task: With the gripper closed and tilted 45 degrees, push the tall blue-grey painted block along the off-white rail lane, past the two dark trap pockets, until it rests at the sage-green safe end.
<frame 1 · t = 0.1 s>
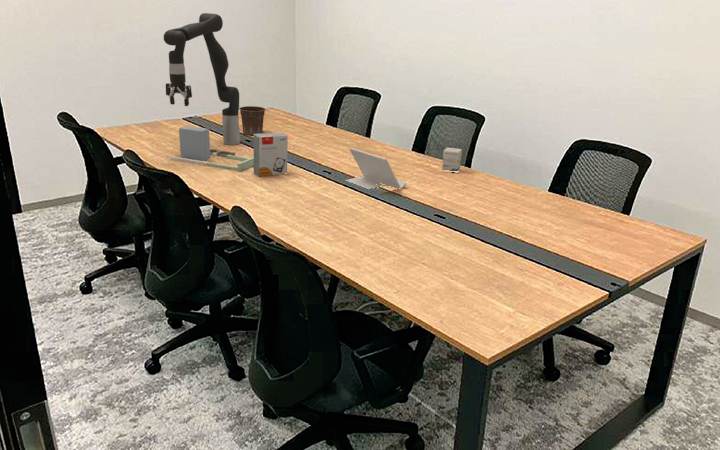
hand: (179, 105, 297), 29 cm above the table, tool pointing down, fingers open, 8 cm apart
ink box: (450, 171, 312), on the table
small box: (195, 150, 329), on the table
tablet stand: (375, 185, 283), on the table
plant pot: (253, 134, 373), on the table
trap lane: (214, 161, 310), on the table
hard drive box: (270, 173, 293), on the table
block: (195, 158, 314), on the table
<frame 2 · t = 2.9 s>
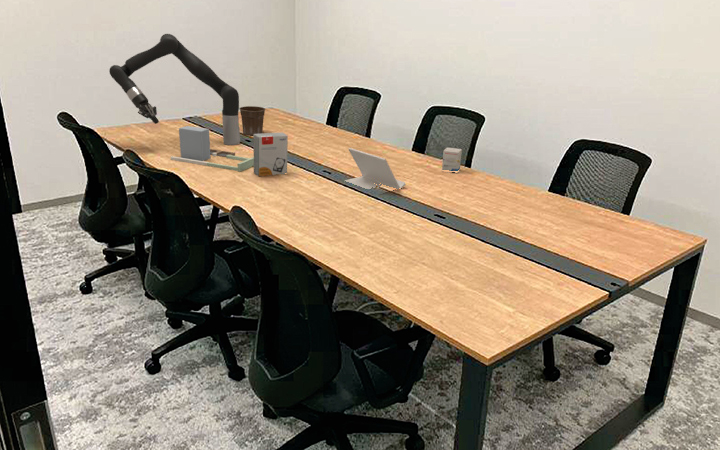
hand: (157, 122, 315), 16 cm above the table, tool tilted 45°, fingers closed
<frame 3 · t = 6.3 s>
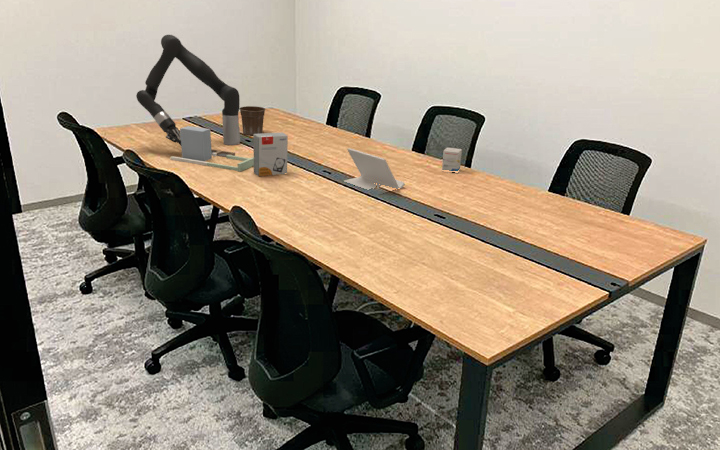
hand: (184, 146, 314), 5 cm above the table, tool tilted 45°, fingers closed
block: (197, 158, 314), on the table, touching gripper
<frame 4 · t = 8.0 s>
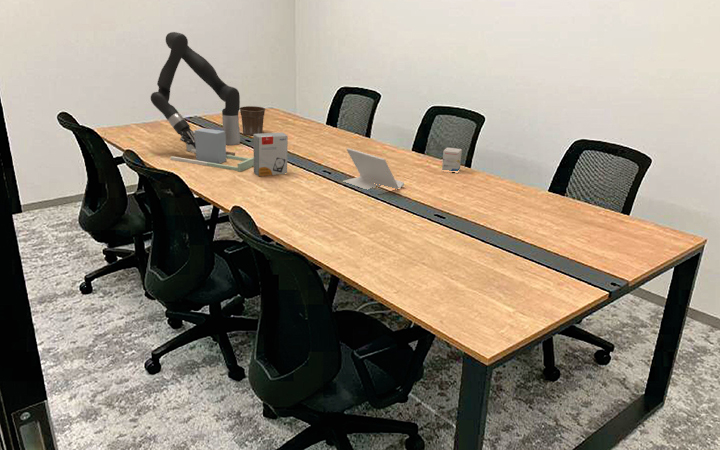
hand: (199, 149, 311), 5 cm above the table, tool tilted 45°, fingers closed
block: (211, 160, 310), on the table, touching gripper
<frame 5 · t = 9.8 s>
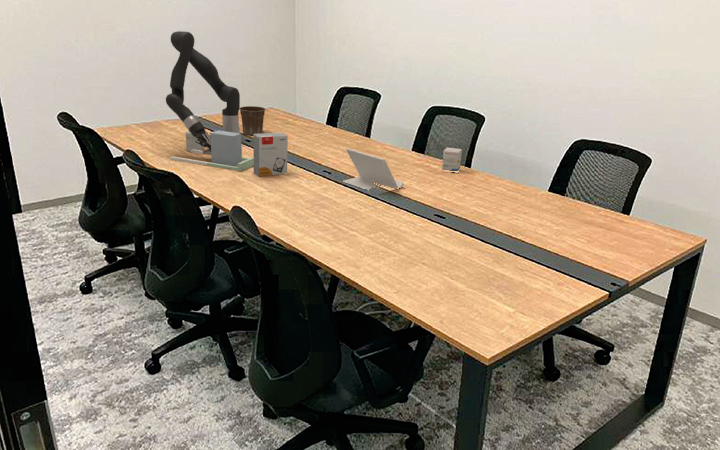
hand: (214, 151, 308), 5 cm above the table, tool tilted 45°, fingers closed
block: (227, 163, 307), on the table, touching gripper
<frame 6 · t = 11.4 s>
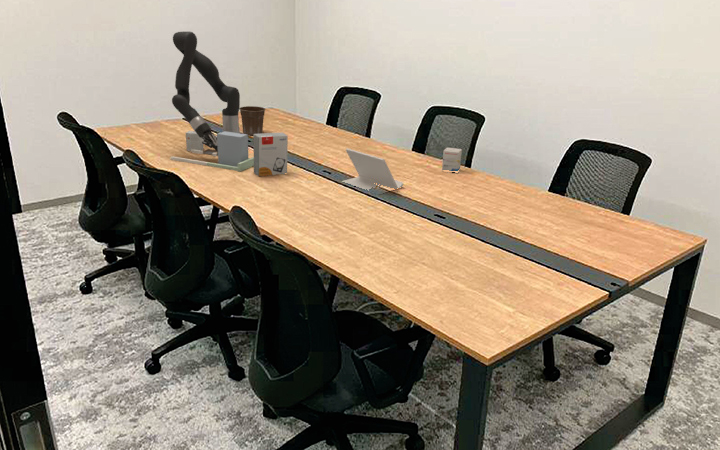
hand: (221, 152, 306), 5 cm above the table, tool tilted 45°, fingers closed
block: (233, 164, 306), on the table, touching gripper
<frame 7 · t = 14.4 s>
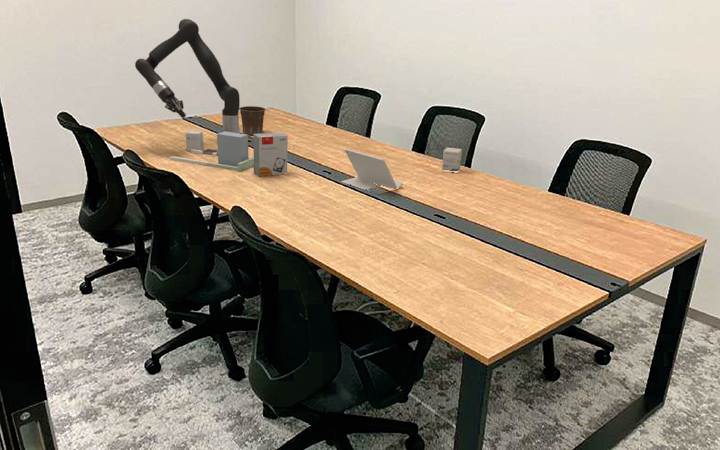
hand: (184, 116, 309), 21 cm above the table, tool tilted 45°, fingers closed
block: (233, 164, 306), on the table
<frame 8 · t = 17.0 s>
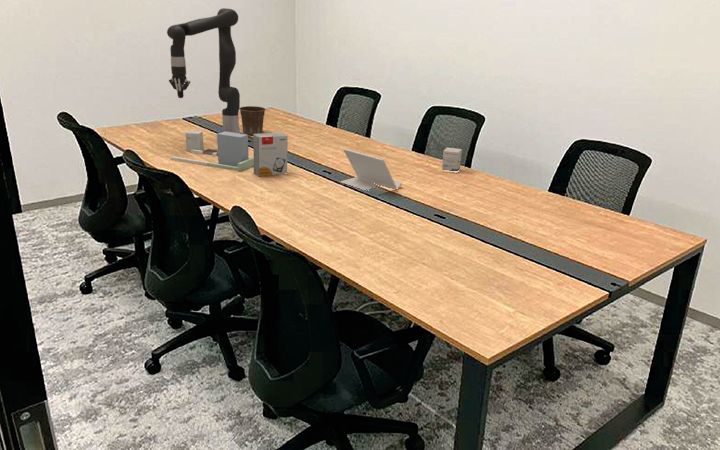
hand: (180, 97, 318), 29 cm above the table, tool pointing down, fingers closed
at the end: block inside the target area (0.6 cm from its centre), on the table; block tilted 0° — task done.
